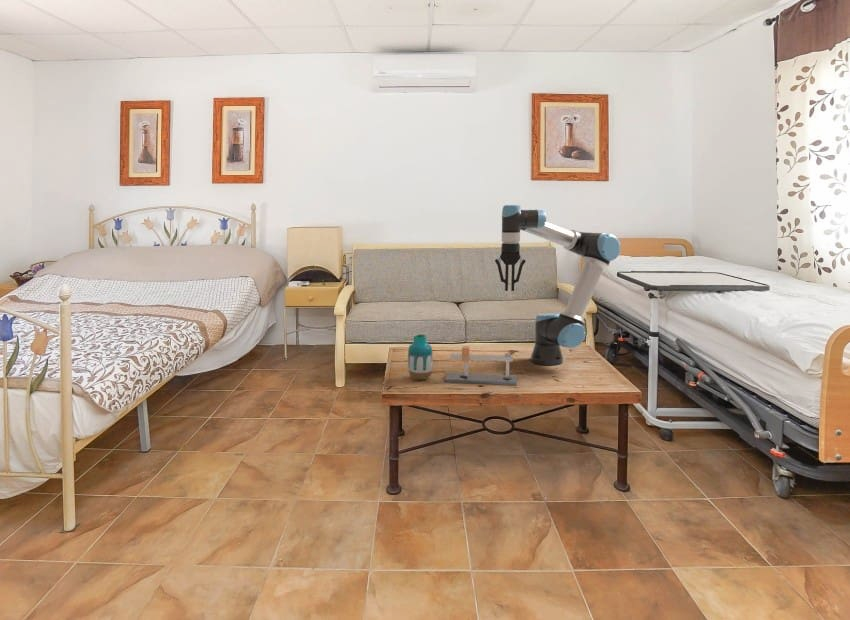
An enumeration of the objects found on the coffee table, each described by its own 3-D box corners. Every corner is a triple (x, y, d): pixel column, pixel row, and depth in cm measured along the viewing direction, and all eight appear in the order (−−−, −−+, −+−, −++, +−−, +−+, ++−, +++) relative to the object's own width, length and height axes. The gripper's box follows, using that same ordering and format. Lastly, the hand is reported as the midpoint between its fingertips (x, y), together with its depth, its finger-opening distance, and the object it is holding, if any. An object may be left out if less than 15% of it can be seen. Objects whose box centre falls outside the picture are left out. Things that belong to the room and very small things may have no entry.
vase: (407, 375, 232) (407, 333, 229) (431, 374, 233) (431, 332, 230) (408, 383, 222) (408, 338, 218) (433, 382, 223) (433, 338, 219)
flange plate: (516, 378, 228) (517, 375, 228) (516, 385, 218) (516, 382, 218) (448, 374, 233) (448, 371, 233) (444, 381, 223) (444, 378, 223)
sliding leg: (469, 374, 228) (469, 346, 226) (468, 376, 224) (469, 348, 222) (462, 373, 228) (462, 345, 226) (461, 376, 225) (461, 347, 222)
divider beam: (512, 377, 224) (512, 353, 222) (512, 379, 222) (512, 355, 220) (451, 374, 229) (451, 351, 227) (450, 376, 226) (450, 352, 224)
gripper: (526, 242, 222) (524, 297, 227) (495, 242, 225) (494, 296, 229) (526, 243, 215) (525, 300, 219) (494, 243, 217) (493, 299, 222)
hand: (509, 298), depth 224 cm, fingers closed
